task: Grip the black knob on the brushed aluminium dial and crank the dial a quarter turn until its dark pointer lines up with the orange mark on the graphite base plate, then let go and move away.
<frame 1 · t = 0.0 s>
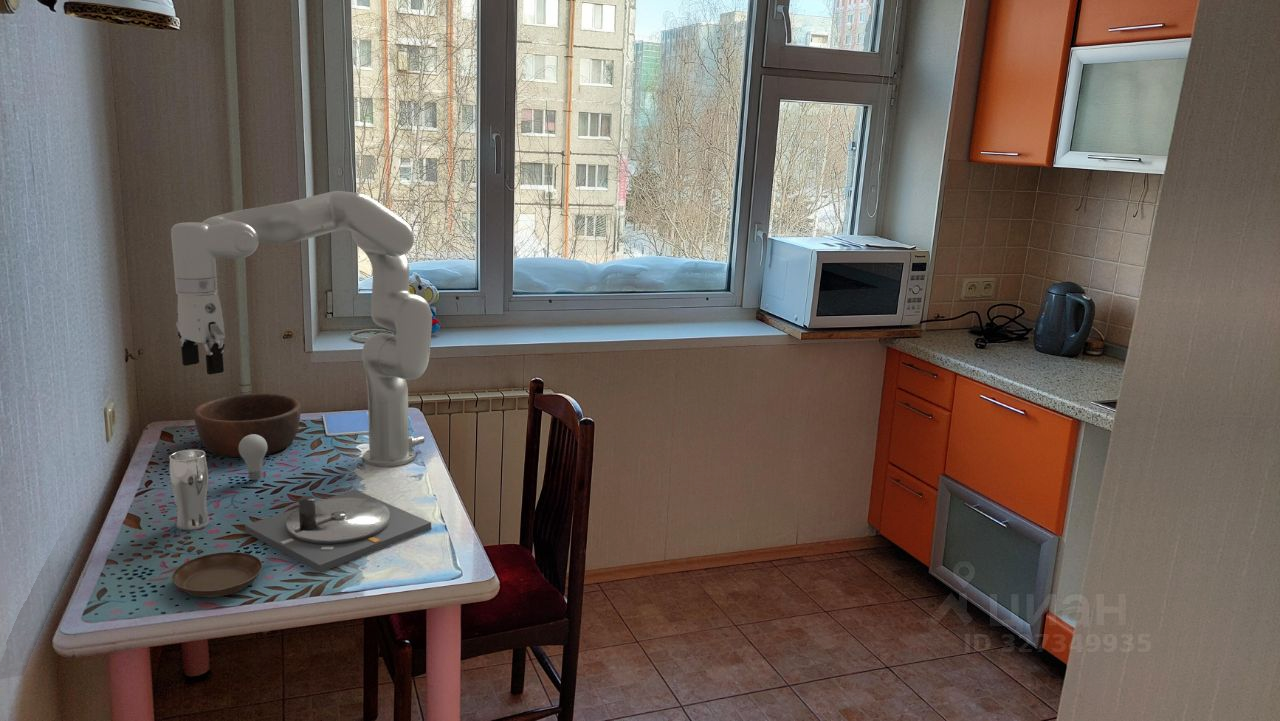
hand: (203, 368, 186), 31 cm above the table, tool pointing down, fingers open, 9 cm apart
dial: (338, 505, 185), point 5 cm above the table, hinge at 0.0°
dial plate: (339, 530, 187), on the table
tablet computer: (348, 426, 253), on the table
beer glass: (193, 525, 187), on the table
lightbulb: (255, 481, 211), on the table
saucer: (219, 584, 164), on the table
wooden bowl: (250, 445, 234), on the table
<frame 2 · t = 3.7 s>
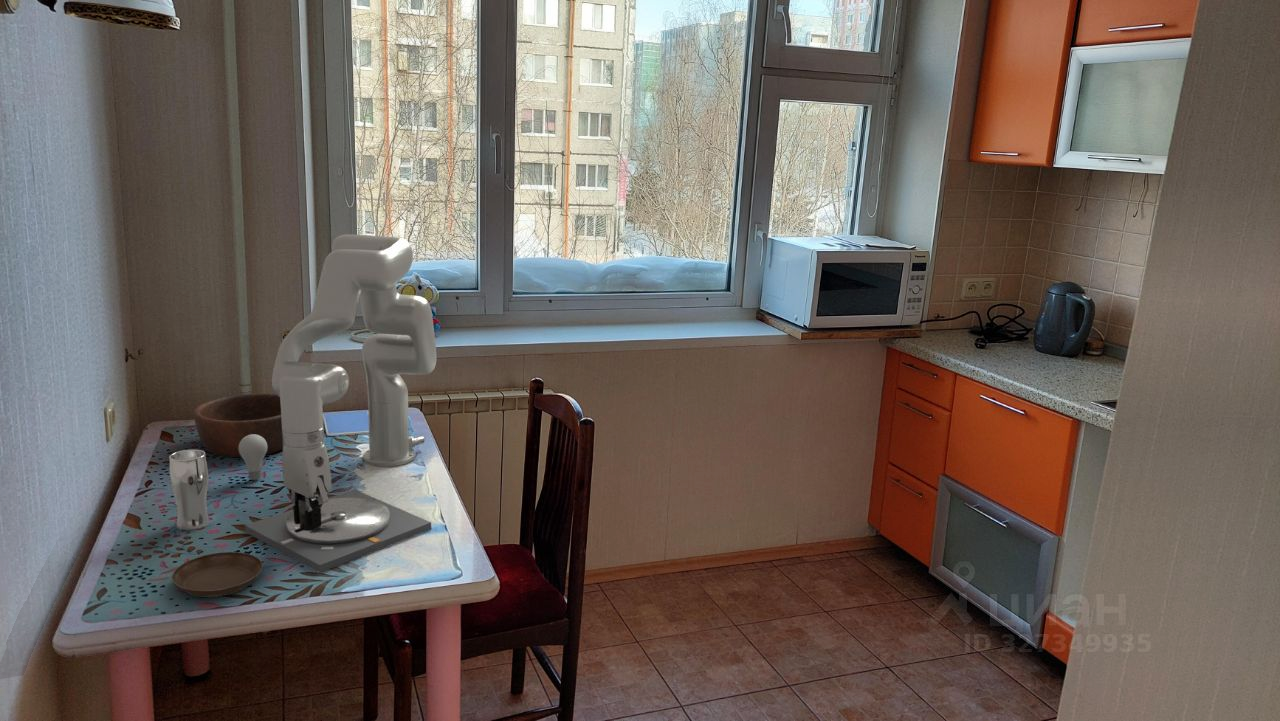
hand: (307, 524, 180), 4 cm above the table, tool pointing down, fingers closed on dial, 3 cm apart
dial: (338, 505, 185), point 5 cm above the table, hinge at 0.0°, touching gripper
everything else where it was.
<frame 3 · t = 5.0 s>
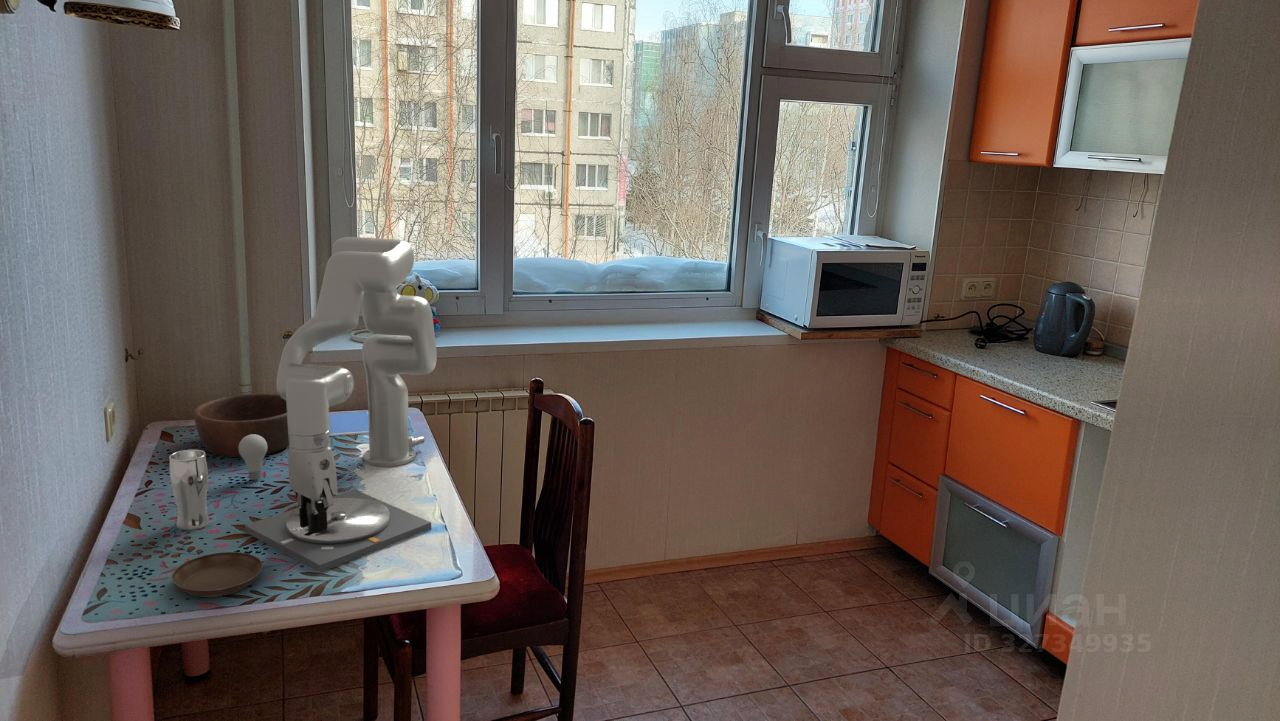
hand: (313, 527, 179), 4 cm above the table, tool pointing down, fingers closed on dial, 3 cm apart
dial: (338, 505, 185), point 5 cm above the table, hinge at 17.9°, touching gripper
everything else where it was.
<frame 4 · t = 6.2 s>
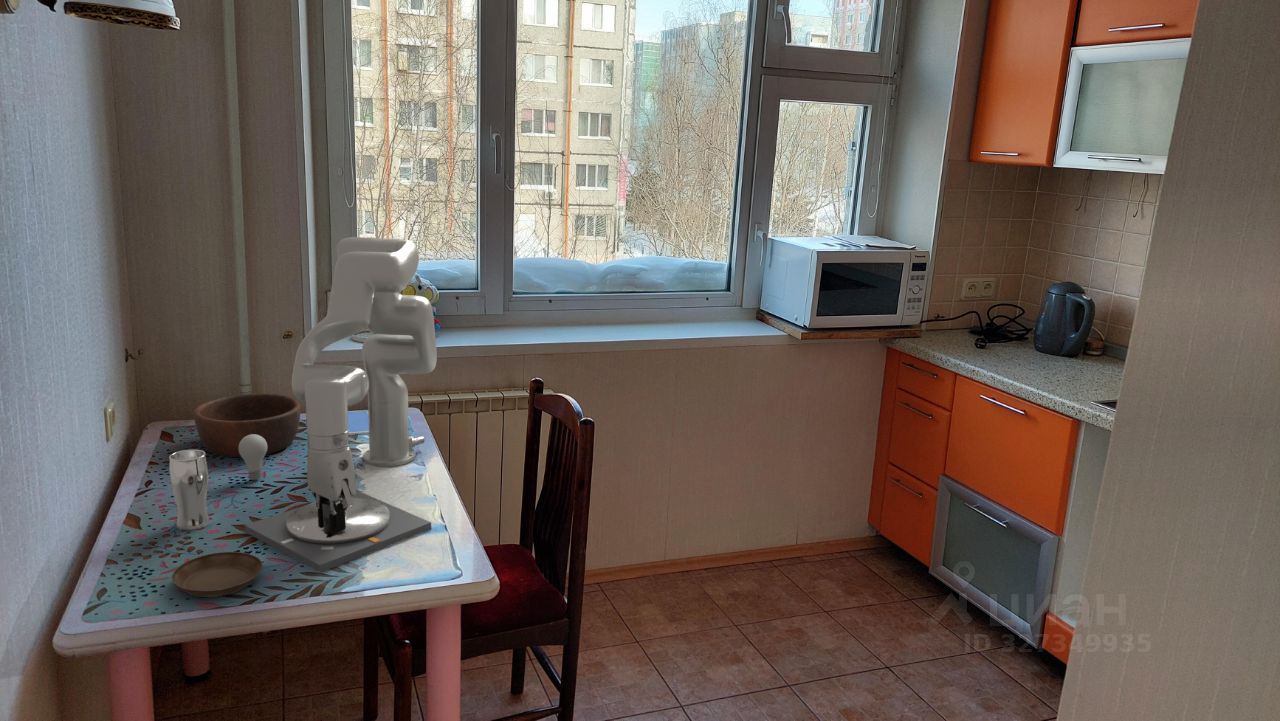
hand: (332, 527, 179), 4 cm above the table, tool pointing down, fingers closed on dial, 3 cm apart
dial: (338, 505, 185), point 5 cm above the table, hinge at 44.8°, touching gripper
everything else where it was.
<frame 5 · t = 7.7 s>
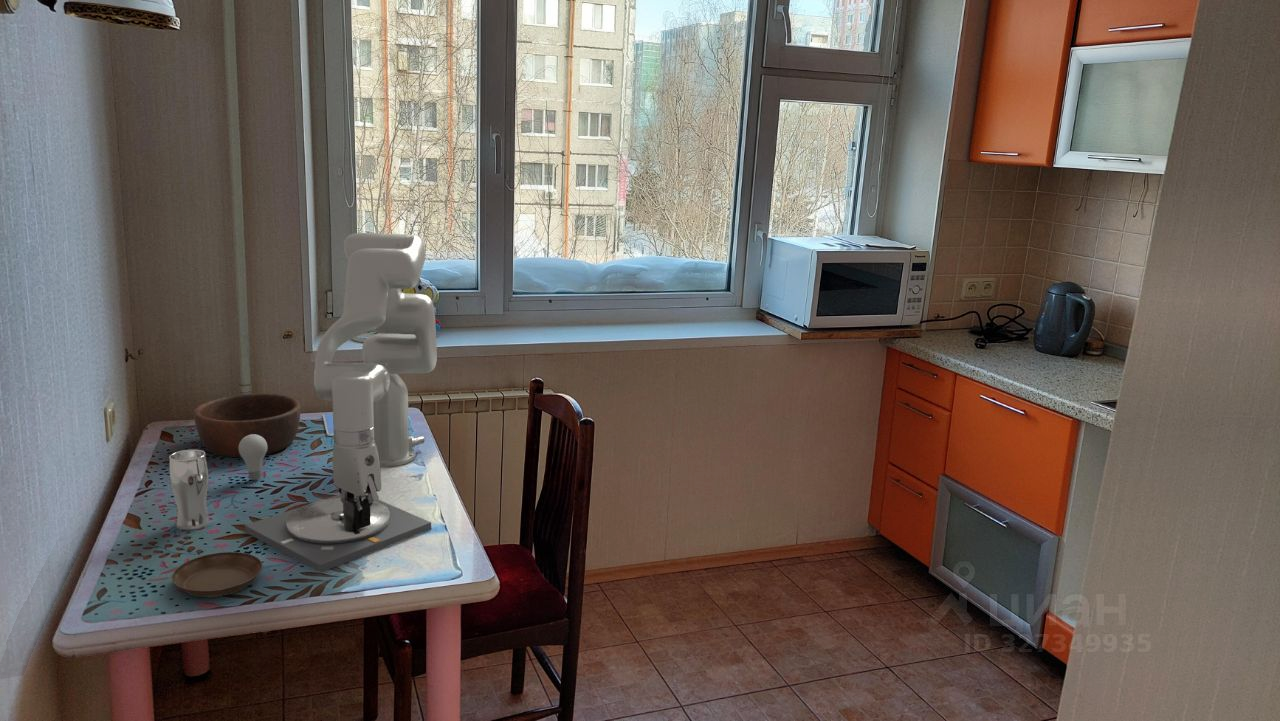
hand: (357, 523, 181), 4 cm above the table, tool pointing down, fingers closed on dial, 3 cm apart
dial: (338, 505, 185), point 5 cm above the table, hinge at 76.8°, touching gripper
everything else where it was.
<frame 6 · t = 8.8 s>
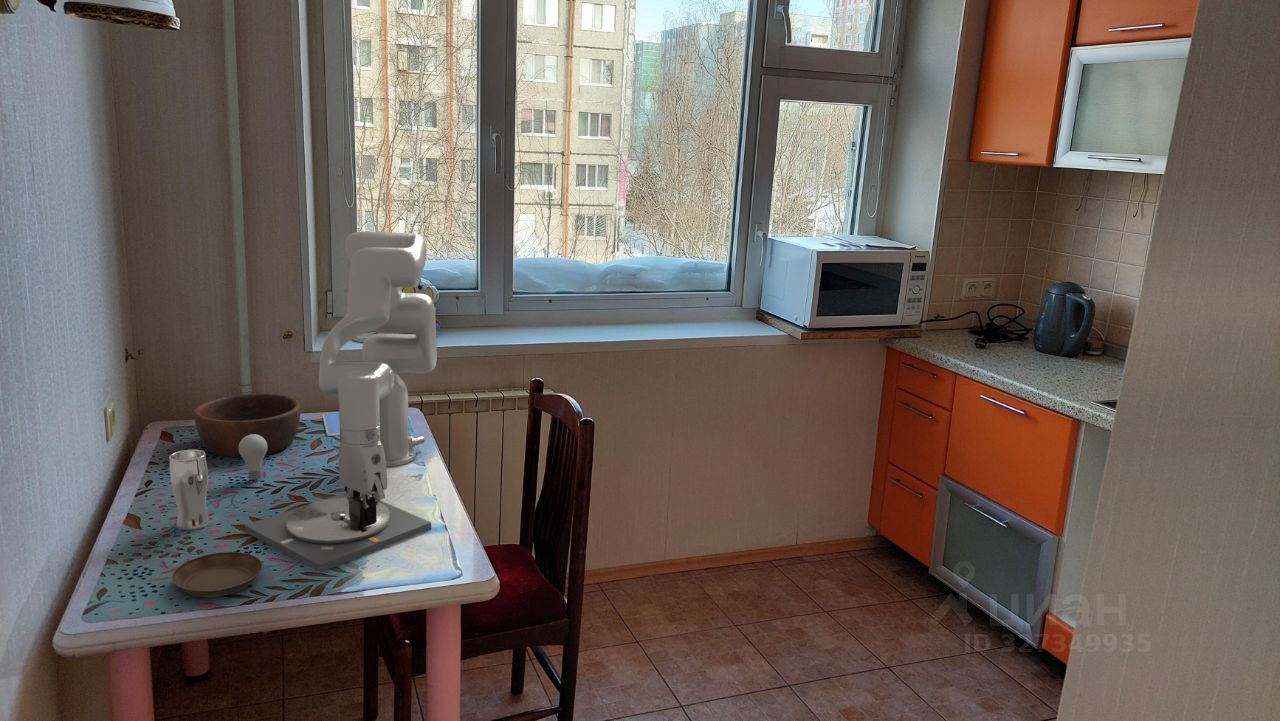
hand: (363, 521, 182), 4 cm above the table, tool pointing down, fingers closed on dial, 3 cm apart
dial: (338, 505, 185), point 5 cm above the table, hinge at 86.1°, touching gripper
everything else where it was.
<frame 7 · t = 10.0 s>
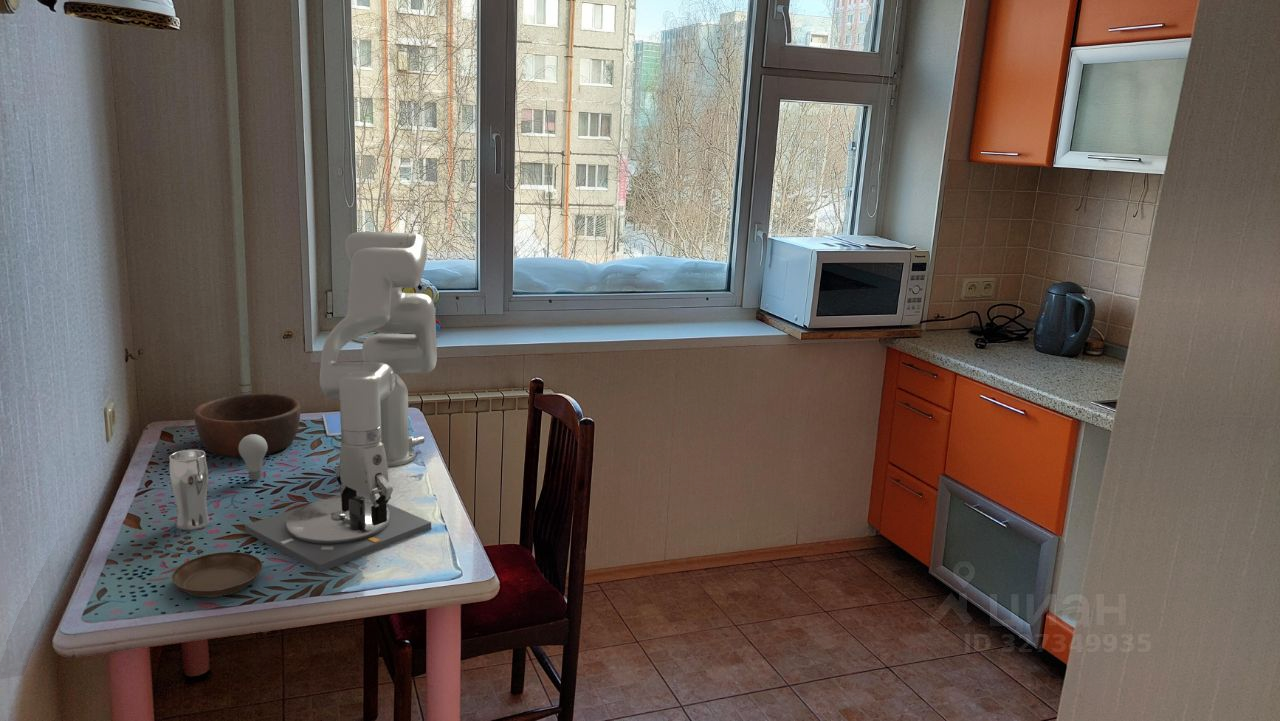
hand: (364, 516, 182), 5 cm above the table, tool pointing down, fingers open, 9 cm apart
dial: (338, 505, 185), point 5 cm above the table, hinge at 86.3°
everything else where it was.
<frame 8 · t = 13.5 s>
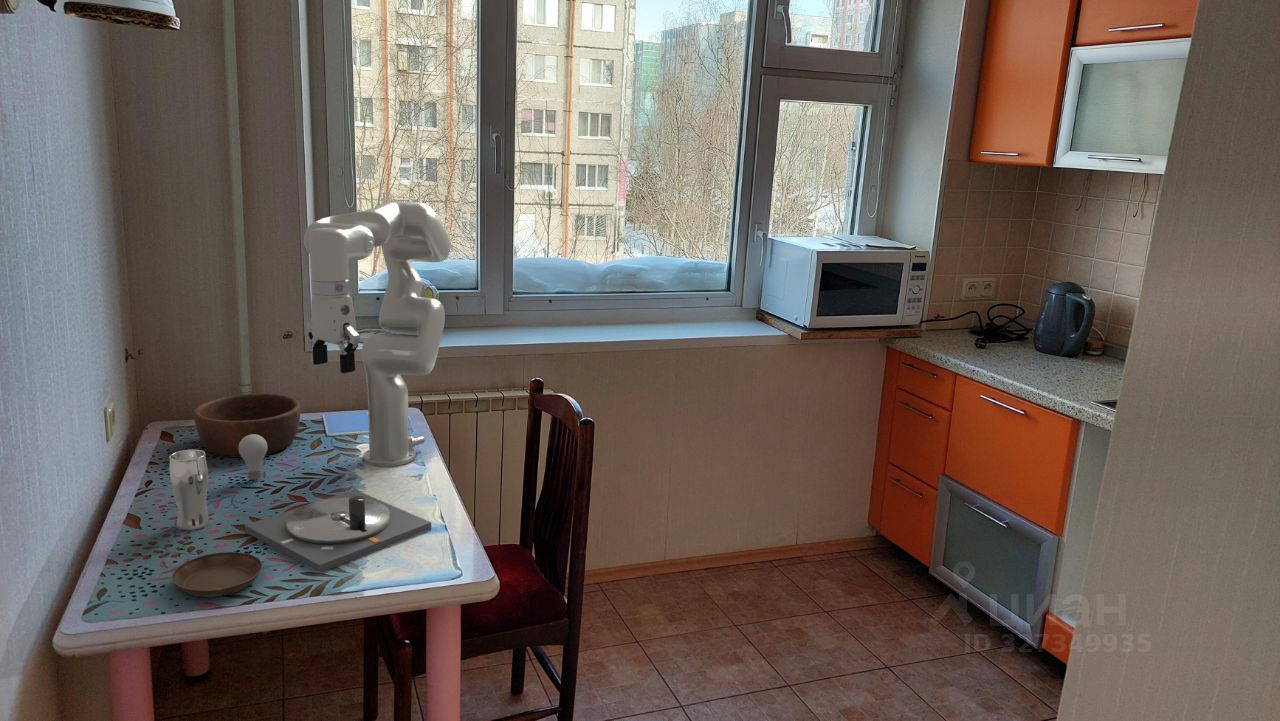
hand: (334, 367, 194), 30 cm above the table, tool pointing down, fingers open, 9 cm apart
nothing on the table moved.
at the end: dial at +86° (first picture: +0°) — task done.
